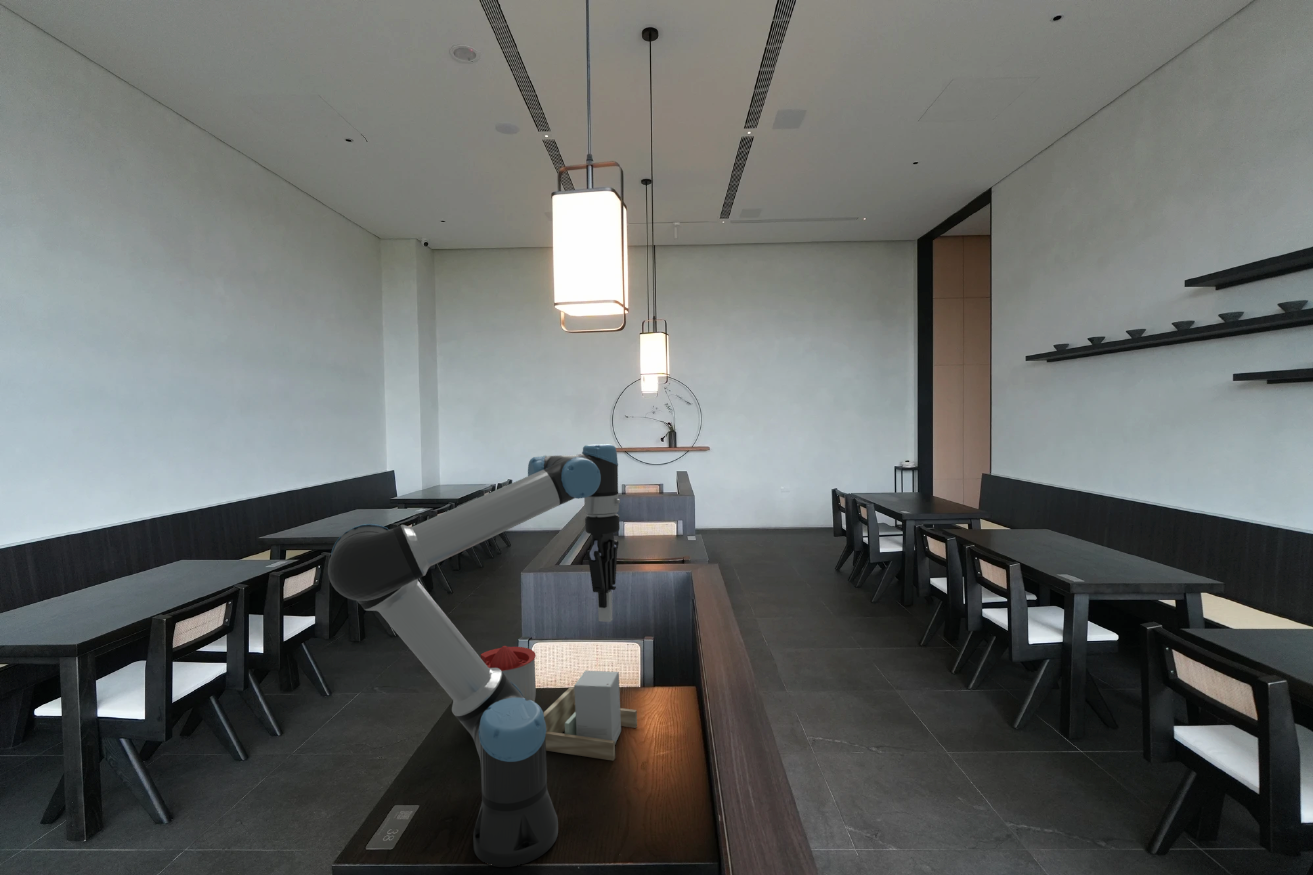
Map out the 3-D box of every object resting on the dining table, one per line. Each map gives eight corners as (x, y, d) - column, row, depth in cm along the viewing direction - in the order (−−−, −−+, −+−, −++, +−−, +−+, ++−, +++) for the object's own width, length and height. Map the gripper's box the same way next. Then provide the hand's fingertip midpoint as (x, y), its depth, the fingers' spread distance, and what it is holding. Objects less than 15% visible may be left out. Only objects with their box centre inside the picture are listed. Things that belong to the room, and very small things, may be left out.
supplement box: (622, 730, 146) (620, 670, 145) (613, 750, 137) (610, 686, 137) (587, 728, 147) (585, 669, 147) (575, 747, 139) (573, 684, 138)
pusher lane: (613, 760, 133) (612, 725, 133) (541, 749, 138) (540, 715, 138) (637, 725, 148) (636, 694, 148) (571, 717, 153) (570, 686, 153)
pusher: (569, 749, 137) (568, 723, 137) (565, 748, 138) (564, 723, 138) (592, 721, 150) (591, 698, 150) (588, 721, 150) (588, 697, 150)
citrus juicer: (480, 709, 160) (477, 635, 159) (544, 708, 159) (541, 634, 159) (458, 739, 144) (455, 658, 144) (529, 738, 143) (526, 657, 143)
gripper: (606, 519, 123) (610, 631, 123) (628, 510, 135) (631, 612, 135) (573, 518, 125) (577, 629, 125) (598, 509, 137) (601, 610, 138)
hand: (605, 620), depth 130 cm, fingers closed
